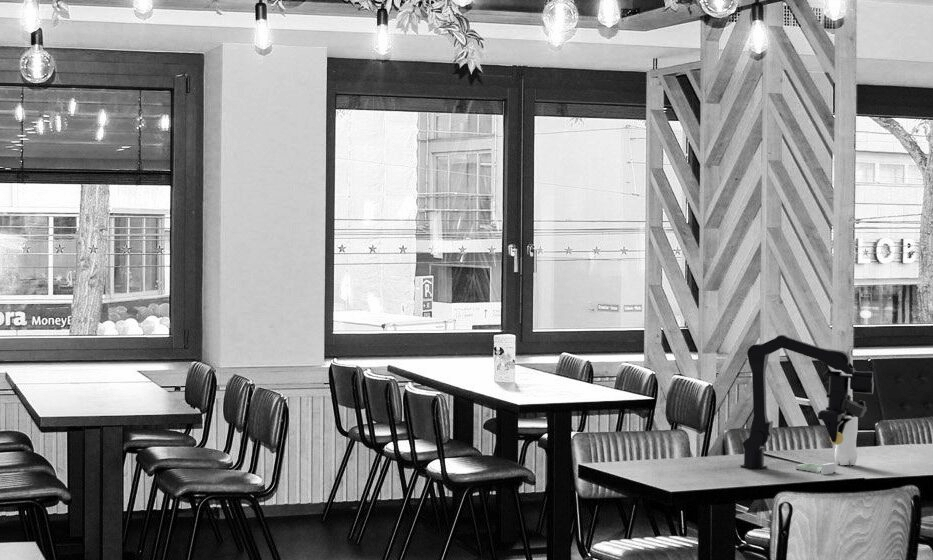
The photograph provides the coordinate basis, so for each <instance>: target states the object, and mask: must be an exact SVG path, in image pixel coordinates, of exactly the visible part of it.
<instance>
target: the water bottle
mask: <svg viewBox="0 0 933 560" xmlns="http://www.w3.org/2000/svg"><path fill="white" fill-rule="evenodd" d="M848 395H850V396H851V400H852V401H853V400H854V398H853V397H854V395H853V390H852V389H850V388H848ZM848 418H851V419H852V420H850V421H849V422H848V423H846V425H845V428H844V431H843V434H842V435H843V441H842V443H841V444H838V445H836V444H835V450H834V460H835V463H836V465H838V464H840V465H841V466H842V465H847V466H848V465H849V466H850V465H854V466H855V465H856V463H857V461H858V449H857V437H858V436H857V435H858V433H859V430H858V428H859V427H858V426H859V423H858V421H859V418H858V417H852V416H848Z"/></svg>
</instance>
